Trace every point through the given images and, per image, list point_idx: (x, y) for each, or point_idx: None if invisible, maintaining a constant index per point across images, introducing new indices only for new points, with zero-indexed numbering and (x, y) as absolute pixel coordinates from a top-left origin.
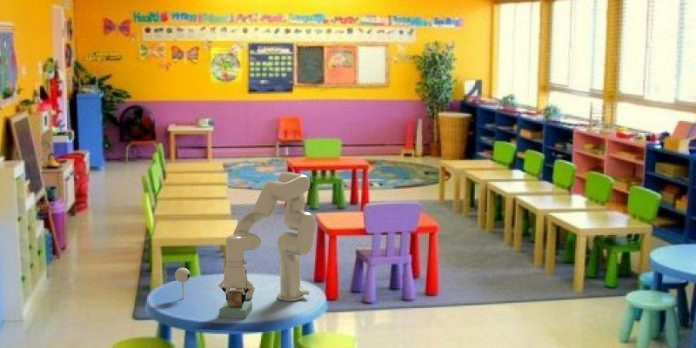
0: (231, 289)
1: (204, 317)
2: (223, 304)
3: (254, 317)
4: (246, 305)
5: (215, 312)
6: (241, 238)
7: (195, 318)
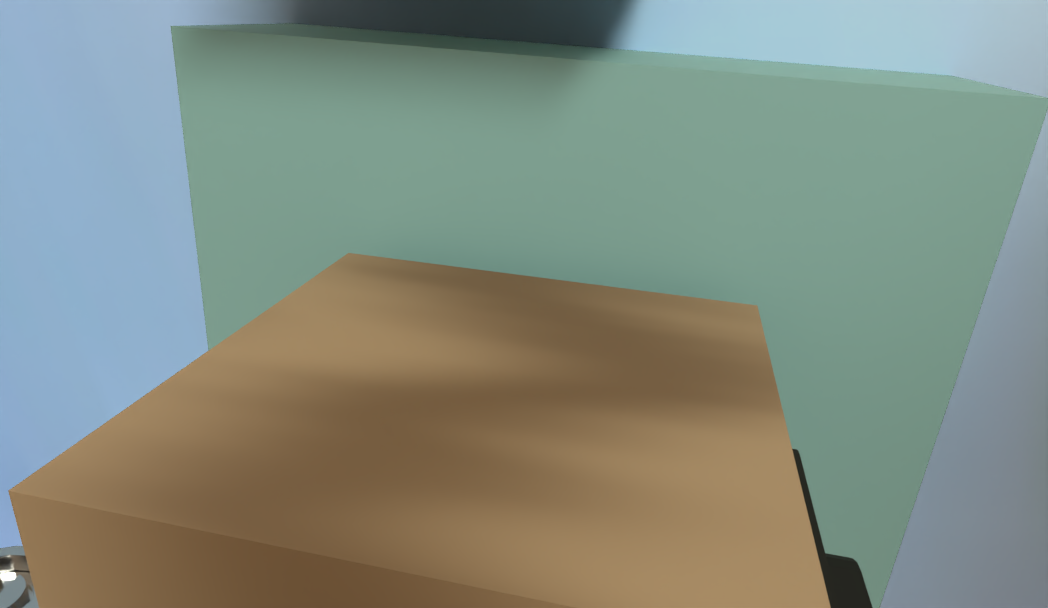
0: (57, 525)
1: None
2: (207, 334)
3: (982, 595)
4: (835, 435)
5: (169, 286)
6: None
7: (11, 540)
